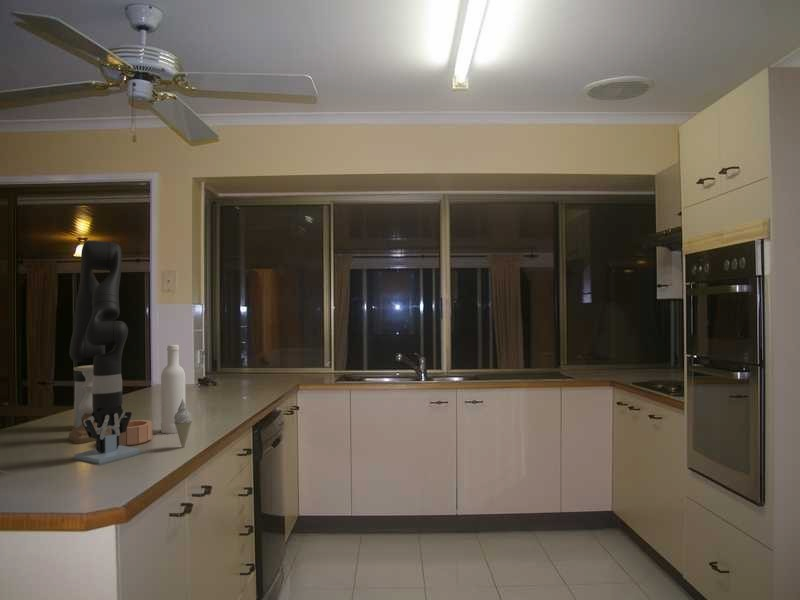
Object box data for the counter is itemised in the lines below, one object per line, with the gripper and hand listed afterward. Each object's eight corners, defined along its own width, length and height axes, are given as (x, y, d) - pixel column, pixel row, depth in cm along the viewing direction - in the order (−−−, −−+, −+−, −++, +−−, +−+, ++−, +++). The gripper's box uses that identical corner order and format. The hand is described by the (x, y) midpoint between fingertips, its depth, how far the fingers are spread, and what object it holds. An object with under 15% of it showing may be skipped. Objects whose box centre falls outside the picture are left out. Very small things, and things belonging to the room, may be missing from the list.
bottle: (176, 434, 176) (176, 345, 176) (156, 433, 177) (155, 345, 178) (190, 428, 183) (190, 344, 184) (170, 428, 185) (170, 344, 186)
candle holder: (115, 437, 172) (115, 365, 172) (78, 444, 164) (78, 368, 164) (104, 432, 179) (104, 363, 180) (68, 439, 171) (67, 366, 172)
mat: (67, 460, 146) (67, 458, 146) (115, 448, 159) (115, 446, 159) (98, 467, 139) (98, 465, 139) (146, 454, 151) (146, 452, 151)
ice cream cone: (177, 446, 159) (177, 397, 159) (194, 446, 160) (194, 397, 160) (171, 451, 154) (171, 400, 154) (189, 450, 155) (188, 400, 155)
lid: (74, 458, 146) (74, 437, 147) (115, 448, 157) (115, 428, 157) (99, 463, 141) (99, 442, 141) (140, 453, 151) (140, 433, 151)
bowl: (101, 445, 162) (101, 426, 162) (137, 436, 173) (136, 418, 173) (124, 449, 156) (124, 429, 156) (160, 440, 167) (160, 422, 167)
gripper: (123, 386, 157) (123, 443, 157) (74, 393, 145) (74, 455, 144) (138, 387, 153) (138, 446, 153) (90, 394, 141) (90, 458, 141)
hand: (107, 450), depth 149 cm, fingers closed on lid, 3 cm apart
